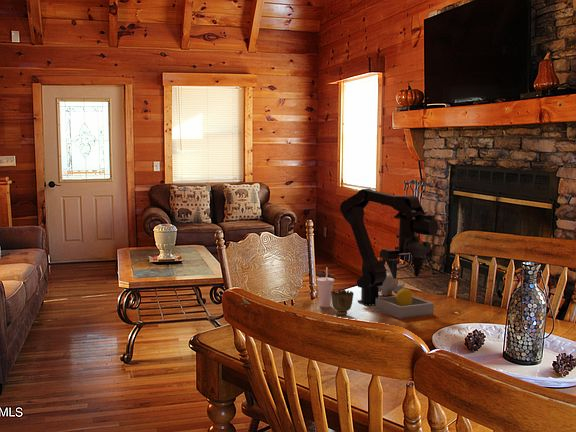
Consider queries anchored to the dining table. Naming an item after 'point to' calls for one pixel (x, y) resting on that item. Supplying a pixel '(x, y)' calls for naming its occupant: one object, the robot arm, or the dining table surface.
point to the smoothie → (325, 290)
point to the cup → (342, 301)
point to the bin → (404, 307)
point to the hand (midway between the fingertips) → (405, 277)
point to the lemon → (404, 297)
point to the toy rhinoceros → (390, 285)
